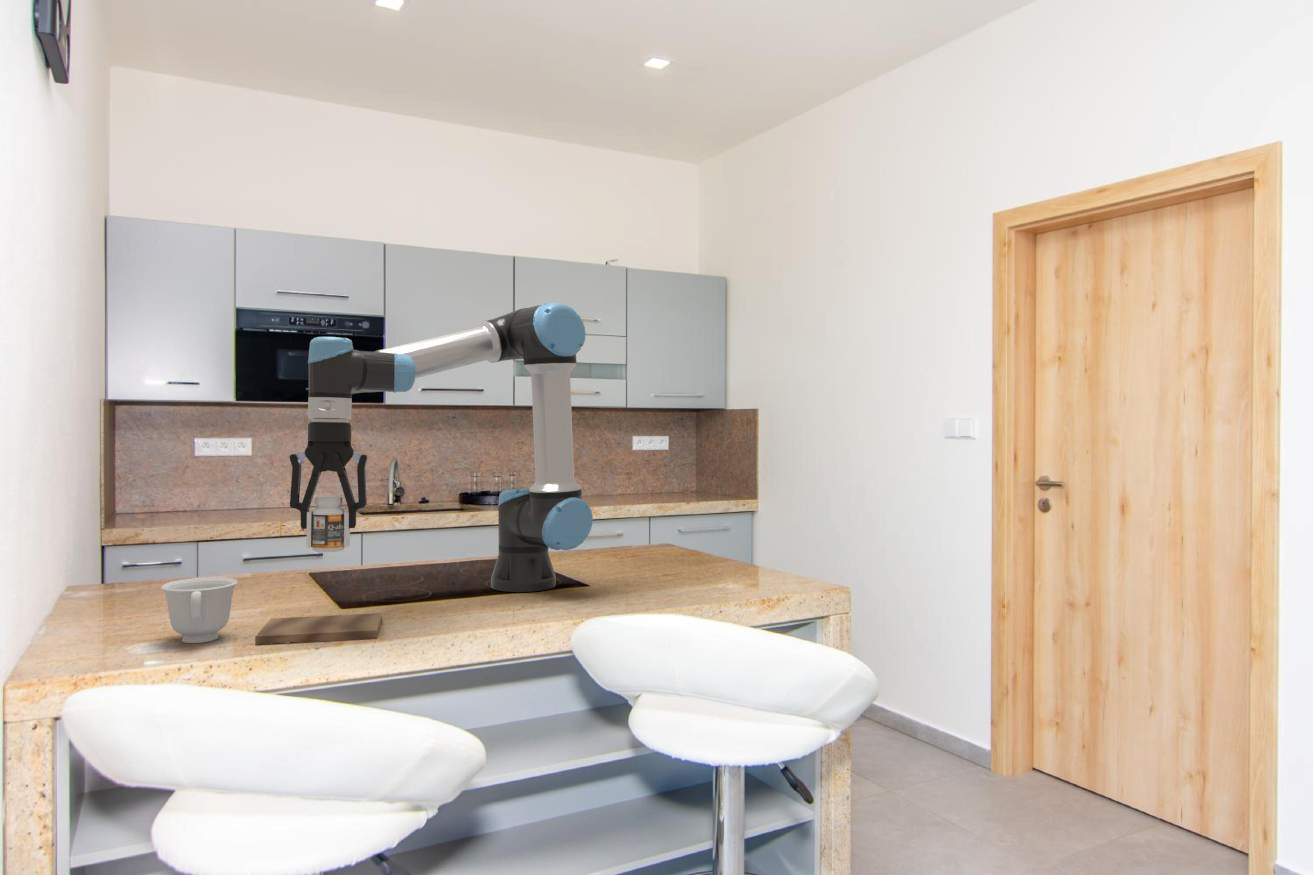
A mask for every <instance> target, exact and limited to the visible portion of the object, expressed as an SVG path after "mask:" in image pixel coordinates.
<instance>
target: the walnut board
mask: <svg viewBox="0 0 1313 875" xmlns="http://www.w3.org/2000/svg"><path fill="white" fill-rule="evenodd" d="M381 622H383V613H382V612H379V613H359V614H354V613H353V614H337V615H318V616H316V615H315V616H313V615H312V616H298V617H297V616H296V617H295V616H293V617H276V618H275V617H274V618H273V617H272V618H270V619H269V620H268V621H267V622H266V623H265V625H264V626H263V627H262V628H261V629H260V630H259V632H258V633H257V634H256V635H254V636H255V641H254V642H255V646H261V645H260V644H267V645H271V644H270V643H285V644H289V643H288V642H304V643H317V642H318V643H319V642H337V641H340V642H341V641H354V640H355V641H356V640H357V641H359V640H374V639H378V635H379V632H380V628H381V626H382V623H381ZM286 642H287V643H286Z"/></svg>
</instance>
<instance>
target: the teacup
mask: <svg viewBox="0 0 1313 875" xmlns="http://www.w3.org/2000/svg"><path fill="white" fill-rule="evenodd" d="M238 583H239V581H238V580H237V579H235V578H232V577H224V576H223V577H220V576H219V577H217V576H216V577H214V576H213V577H212V576H210V577H194V578H187V579H180V580H179V579H178V580H173V581H170V582H166V583H164V584H162V585H161V586H160V588H161V590H162V591H163V592H164V594H165V597H166V603H167V612H168V617H169V618H168V619H169V621H170V625H171V628H172V630H174V631H175V632H176V633H178V634H179V635H182V637H181V638H182V639H181V642H182V643H184V644H203V643H209V642H213V641H216V640H217V639H219V633H218V632H219V631H221V630H222V629H224V627H226V625H227V624H228V622H229V619H230V614H231V609H232V608H231V607H232V603H233V602H232V601H233V600H232V599H233V594H234V590H235V587H236V585H238Z"/></svg>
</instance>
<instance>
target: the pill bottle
mask: <svg viewBox="0 0 1313 875" xmlns="http://www.w3.org/2000/svg"><path fill="white" fill-rule="evenodd" d="M314 502H315V503H314V504H315V505H316V507H315V509H314V510H312V511H313V513H312V547H311V549H312V551H314V552H317V553H318V552H319V553H336V552H340V551H344V549H345V548H346V547H344V512H345V511H346V510H345V509H344V508H343V507H342V505H343V497H342V496H337V495H336V496H334V495H332V496H330V495H329V496H326V495H325V496H316V497H315V501H314Z"/></svg>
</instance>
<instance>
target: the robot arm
mask: <svg viewBox="0 0 1313 875" xmlns="http://www.w3.org/2000/svg"><path fill="white" fill-rule="evenodd" d="M585 340H586V328H585V323H584V321H583V320H582V317H581V316H580V314H579V313H578V312H577V311H576V310H575V309H574V308H572V307H571V306H569V305H567V304H564V303H560V302H554V303H552V302H550V303H543V304H540V305H534V306H530V307H524V308H519V309H516V310H514V311H511V312H508V313H506V314H503V315H500V316H498V317H495V318H492V319H489V320H484V321H481V322H479V324H478V326H477V327H475V328H469V329H465V330H459V331H457V332H456V331H455V332H453V333H448V334H447V333H446V334H443V335H439V336H433V337H430V338H426V339H422V340H417V341H413V342H409V343H405V344H401V345H396V346H392V347H386V348H382V349H378V350H375V351H364V350H358V349H354V346H353V341H352V339H349V338H347V337H338V336H337V337H336V336H317V337H313V339H311V340H310V342H309V349H308V359H307V363H308V400H307V402H308V404H307V405H308V406H307V418H308V419H309V420H311V421H310V422H309V423H308V424H307V446H306V448H305V450H304V451H302V452H299V453H291V454H290V455H289V461H290V464H291V467H292V468H291V469H292V470H291V482H290V496H289V497H290V498H289V507H290V508H291V509H296V510H299V512H300V528H301V530H306V546H305V547H306V548H307V549H310V548H311V549H312V513H313V511H314V510H310V508H311V507H310V506H311V504H312V501H313V498H314V495H315V492H316V489H317V486H318V483H319V480H320V477H321V475H322V472H323V473H324V472H327V471H329V472H333V473H334V472H336V474H337V476H338V478H339V482H340V486H341V489H342V492H343V494H344V495H343V496H344V499H345V502H346V505H347V508H348V509H347V510H344V511H345V512H344V547H345V548H349V546H350V545H351V543H350V542H351V529H355V528H356V526H357V511H358V510H360V509H362V508H365V507H366V506H367V503H368V502H367V501H368V500H367V499H368V498H367V480H366V479H367V477H366V466H367V463H368V460H369V459H368V458H369V456H368V454H366V453H365V454H362V453H358V452H355V450H354V448H353V446H352V424H351V422H349V420H352V407H353V406H352V404H353V403H352V401H353V400H352V397H353V395H355V394H360V393H377V392H378V393H379V392H385V393H386V392H388V393H389V392H391V393H393V394H394V393H404V392H405V393H407V392H409V391H410V390H411V389H412V388H413V387H414V384H415V381H416V379H418V378H423V377H426V376H429V375H430V376H431V375H433V374H438V373H441V372H446V371H450V370H453V369H457V368H462V367H465V366H470V365H473V364H477V363H480V362H484V361H487V362H488V363H491V364H494V363H495V364H496V363H498V362H503V361H512V360H523V368H525V369H526V370H527V372H529V374H530V375H531V376H530V379H531V381H530V382H531V398H532V399H531V402H532V403H531V405H532V427H533V446H534V447H533V452H534V474H535V475H534V476H535V477H534V478H535V481H534V483H533V485H532V486H531V487H529V488H528V487H527V488H516V489H514V488H513V489H506V490H503V491H501V492H500V493H499V497H498V504H497V509H498V510H497V511H498V512H497V513H498V514H497V515H498V555H497V559H496V561H495V565H494V567H493V571H492V574H491V577H490V588H491V589H492V590H495V591H499V592H500V591H501V592H509V593H531V592H538V591H539V592H541V591H546V590H550V589H553V588H556V584H557V580H556V579H557V577H556V573H555V572H556V571H555V569H554V567H553V564H552V563H553V562H552V559H551V558H550V553H549V549H551V550H555V551H560V550H562V551H569V550H573V549H576V548H577V547H579V546H581V545H582V544H583V543H584V541H585V540H586V539H587V537H589V535H590V533H591V530H592V526H593V519H594V518H593V512H592V510H591V507H590V506H589V505H588V504H587V502H586V501H585V500H583V499H582V498H583V497H582V495H583V494H582V486H581V485H580V484H579V483H578V482H577V481H576V480H575V466H574V464H575V462H574V440H573V417H572V416H573V414H572V412H573V411H572V391H571V389H572V388H571V372H572V371H573V370H574V369H575V367H576V366H577V354H578V353H579V352H580V351H581V348H582V347H583V346H584V345H585V342H586V341H585ZM305 458H307V460H308V461H309V463H310V464H311V465H312V466H313V468H312V471H311V474H310V475H311V476H310V478H309V481H308V484H307V486H306V489H305V492H304V493H305V494H304V495H303V498H302V502H300V497H301V496H300V494H301V481H302V465H303V464H304V462H305ZM352 458H353V461H354V464H355V465H356V466H357V467H356V470H357V471H356V472H357V474H356V475H357V494H358V495H357V499H358V501H357V502H356V500H355V496H354V494H353V491H352V487H351V484H350V480H349V476H348V473H347V470H346V465H347V464H348V463H349V462H350V460H351V459H352Z"/></svg>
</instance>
